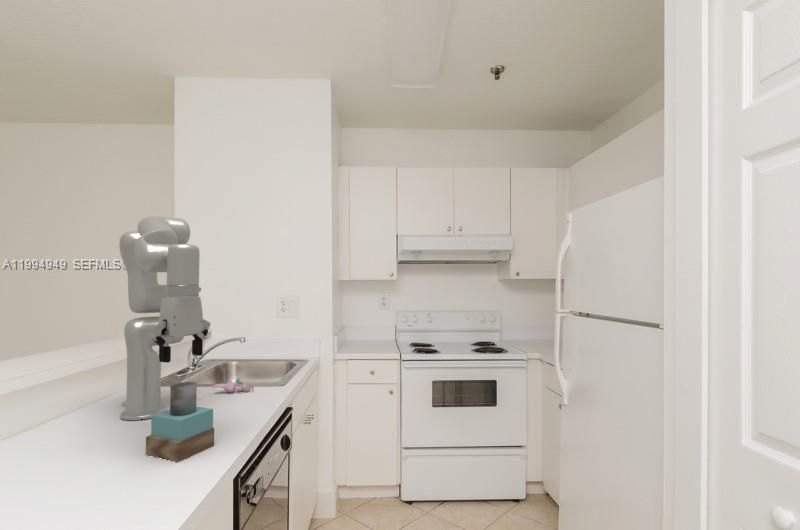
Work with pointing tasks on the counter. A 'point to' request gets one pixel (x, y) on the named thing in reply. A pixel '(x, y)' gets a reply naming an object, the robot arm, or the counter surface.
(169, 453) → the walnut base block
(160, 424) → the teal top block
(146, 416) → the robot arm
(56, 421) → the counter surface
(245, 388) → the pink patterned figure
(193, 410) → the charcoal cylinder
